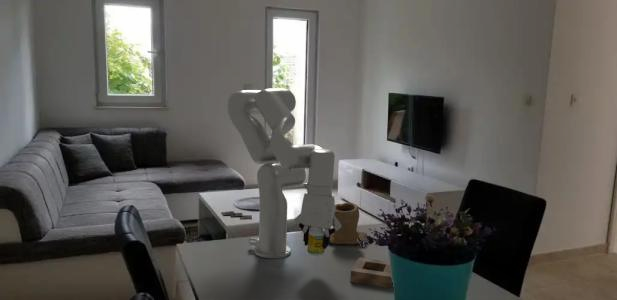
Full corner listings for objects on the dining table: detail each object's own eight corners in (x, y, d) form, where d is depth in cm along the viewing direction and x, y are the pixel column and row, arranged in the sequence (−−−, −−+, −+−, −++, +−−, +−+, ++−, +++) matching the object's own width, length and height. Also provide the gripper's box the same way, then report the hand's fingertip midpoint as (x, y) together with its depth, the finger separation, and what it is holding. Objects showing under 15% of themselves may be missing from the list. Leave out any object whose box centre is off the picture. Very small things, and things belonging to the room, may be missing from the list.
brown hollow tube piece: (327, 248, 180) (329, 207, 177) (326, 237, 191) (328, 199, 189) (369, 249, 179) (372, 209, 177) (366, 238, 191) (368, 200, 189)
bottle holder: (350, 281, 151) (350, 270, 150) (358, 267, 162) (359, 257, 161) (390, 288, 147) (390, 276, 146) (395, 273, 158) (396, 262, 158)
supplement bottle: (317, 248, 159) (319, 219, 158) (327, 254, 155) (329, 225, 153) (303, 251, 156) (305, 222, 155) (313, 257, 152) (315, 227, 150)
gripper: (289, 188, 151) (286, 245, 154) (344, 196, 146) (339, 254, 149) (297, 183, 158) (294, 237, 161) (350, 190, 153) (345, 246, 156)
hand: (316, 245), depth 155 cm, fingers closed on supplement bottle, 5 cm apart
